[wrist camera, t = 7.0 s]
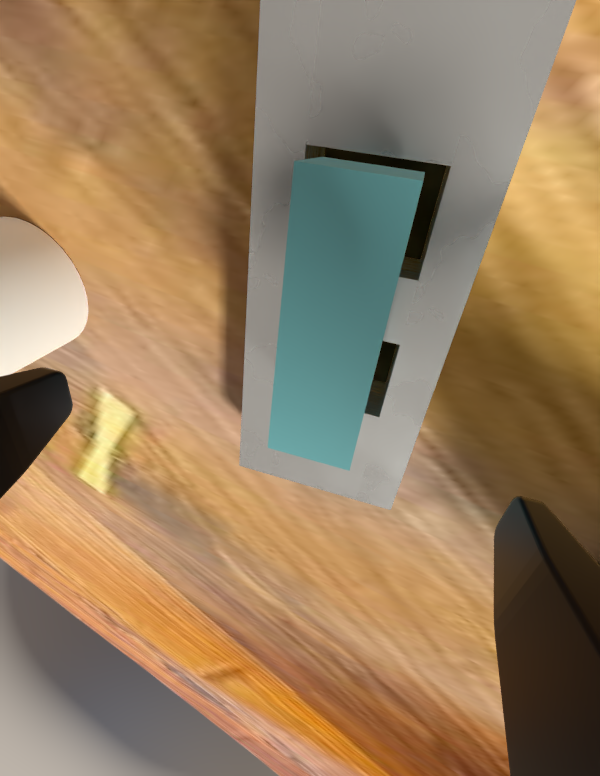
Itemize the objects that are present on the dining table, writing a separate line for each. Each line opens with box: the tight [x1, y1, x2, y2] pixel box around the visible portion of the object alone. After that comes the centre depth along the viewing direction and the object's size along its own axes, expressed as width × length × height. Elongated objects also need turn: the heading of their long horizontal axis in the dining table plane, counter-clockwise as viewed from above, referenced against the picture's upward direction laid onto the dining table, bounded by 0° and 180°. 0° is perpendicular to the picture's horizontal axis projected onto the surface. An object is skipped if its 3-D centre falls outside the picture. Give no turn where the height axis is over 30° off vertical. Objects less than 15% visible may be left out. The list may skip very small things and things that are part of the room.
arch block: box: [268, 157, 425, 471], centre depth 14 cm, size 9×3×7 cm, turn 173°
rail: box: [239, 0, 576, 510], centre depth 16 cm, size 20×8×3 cm, turn 173°
